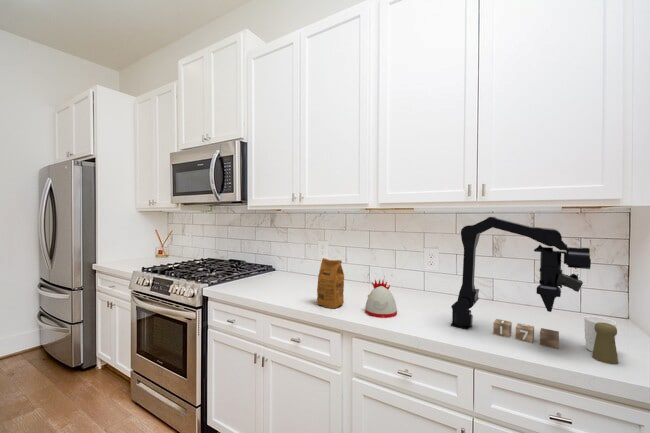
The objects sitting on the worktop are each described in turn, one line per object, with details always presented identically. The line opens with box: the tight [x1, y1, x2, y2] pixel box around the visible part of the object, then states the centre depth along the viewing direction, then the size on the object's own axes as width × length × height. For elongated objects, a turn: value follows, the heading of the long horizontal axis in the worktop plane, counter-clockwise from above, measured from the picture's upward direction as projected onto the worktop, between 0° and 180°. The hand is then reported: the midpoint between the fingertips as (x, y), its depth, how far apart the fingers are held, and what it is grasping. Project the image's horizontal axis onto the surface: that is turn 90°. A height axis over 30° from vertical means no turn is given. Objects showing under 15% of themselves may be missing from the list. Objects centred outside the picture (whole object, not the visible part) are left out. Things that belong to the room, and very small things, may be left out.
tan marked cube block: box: [514, 322, 535, 344], centre depth 109 cm, size 5×5×5 cm
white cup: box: [583, 315, 617, 353], centre depth 101 cm, size 8×8×10 cm
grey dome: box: [364, 278, 398, 319], centre depth 137 cm, size 14×14×15 cm
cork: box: [591, 322, 619, 365], centre depth 94 cm, size 6×6×11 cm
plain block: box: [539, 327, 560, 350], centre depth 105 cm, size 5×5×4 cm
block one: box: [493, 318, 513, 339], centre depth 114 cm, size 5×5×5 cm
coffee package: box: [316, 257, 345, 309], centre depth 147 cm, size 10×12×22 cm
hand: (549, 311), depth 105 cm, fingers closed
